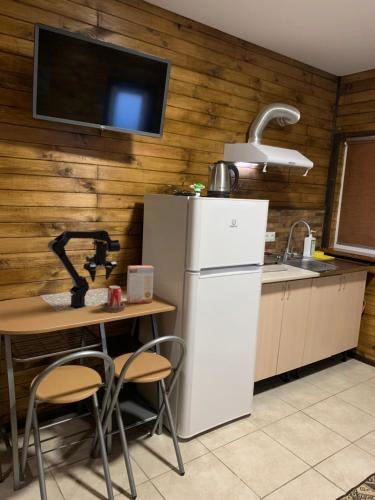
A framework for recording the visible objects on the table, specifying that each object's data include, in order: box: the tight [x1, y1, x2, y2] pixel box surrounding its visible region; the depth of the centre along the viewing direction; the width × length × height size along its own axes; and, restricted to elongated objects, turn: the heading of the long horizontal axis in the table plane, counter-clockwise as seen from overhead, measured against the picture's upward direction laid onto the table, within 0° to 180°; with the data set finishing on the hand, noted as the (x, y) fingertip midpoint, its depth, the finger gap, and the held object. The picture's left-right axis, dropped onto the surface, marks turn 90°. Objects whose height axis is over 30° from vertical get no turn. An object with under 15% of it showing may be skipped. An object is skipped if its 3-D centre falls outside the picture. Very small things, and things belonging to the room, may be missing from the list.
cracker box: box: [126, 265, 155, 304], centre depth 220 cm, size 14×6×21 cm, turn 111°
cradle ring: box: [102, 301, 126, 313], centre depth 204 cm, size 11×11×2 cm
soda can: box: [106, 285, 122, 307], centre depth 204 cm, size 7×7×12 cm
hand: (100, 280), depth 210 cm, fingers open, 9 cm apart
